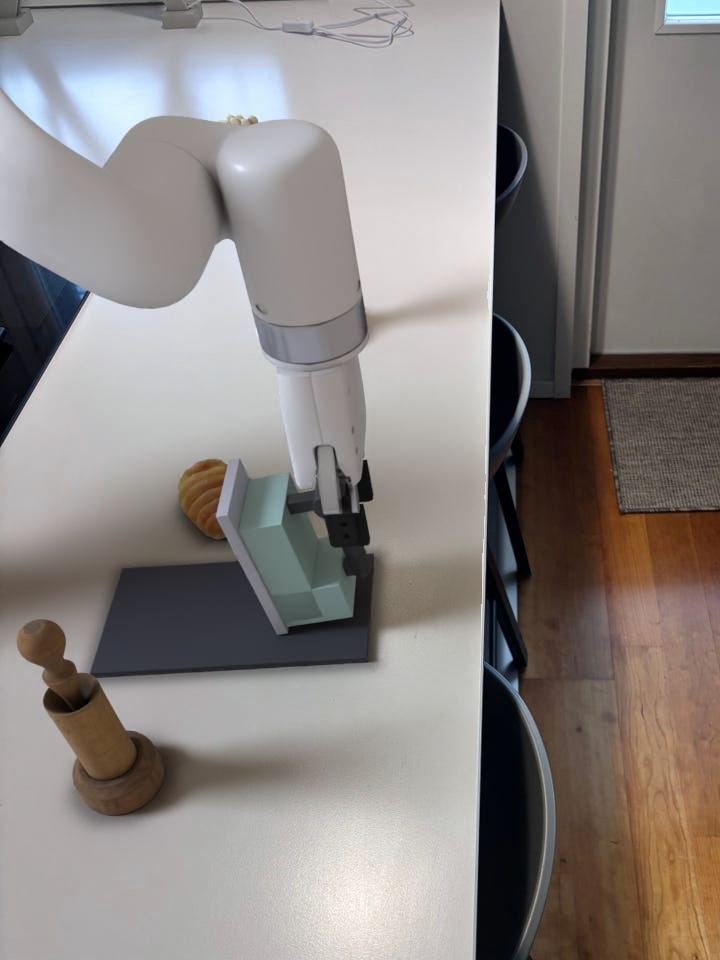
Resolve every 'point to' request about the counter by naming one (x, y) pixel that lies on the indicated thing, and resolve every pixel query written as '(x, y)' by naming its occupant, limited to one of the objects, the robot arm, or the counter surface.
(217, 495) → the pastry
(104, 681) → the counter surface
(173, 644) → the iron mat
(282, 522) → the iron
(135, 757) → the mortar and pestle
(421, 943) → the counter surface
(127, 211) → the robot arm
